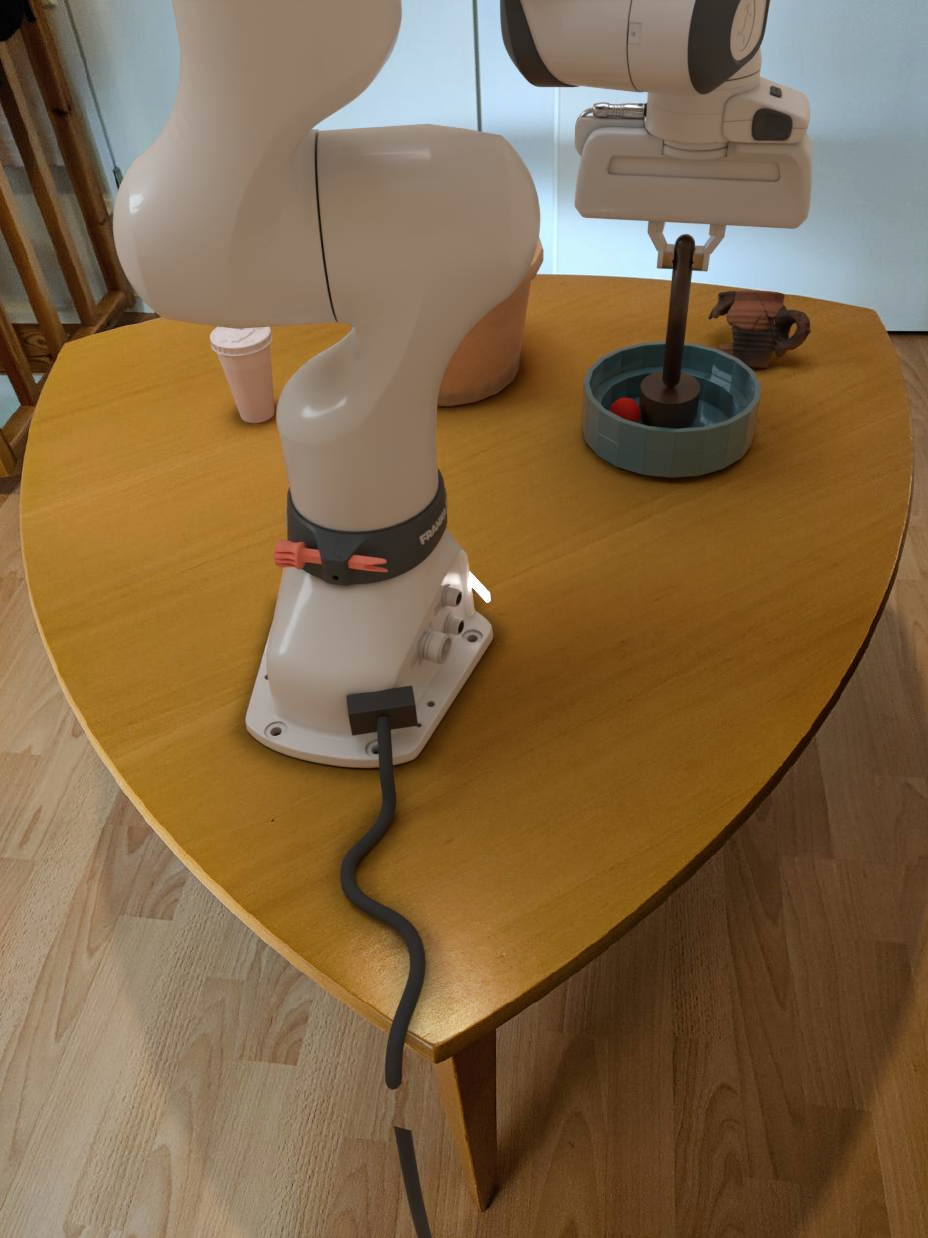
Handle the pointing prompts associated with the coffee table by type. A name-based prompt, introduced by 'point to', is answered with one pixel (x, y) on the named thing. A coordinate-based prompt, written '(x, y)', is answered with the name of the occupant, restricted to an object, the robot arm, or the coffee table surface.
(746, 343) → the pottery mug
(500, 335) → the pottery
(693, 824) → the coffee table surface
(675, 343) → the wooden plunger
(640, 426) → the bowl
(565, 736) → the coffee table surface
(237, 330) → the smoothie
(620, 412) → the cherry tomato
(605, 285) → the coffee table surface
